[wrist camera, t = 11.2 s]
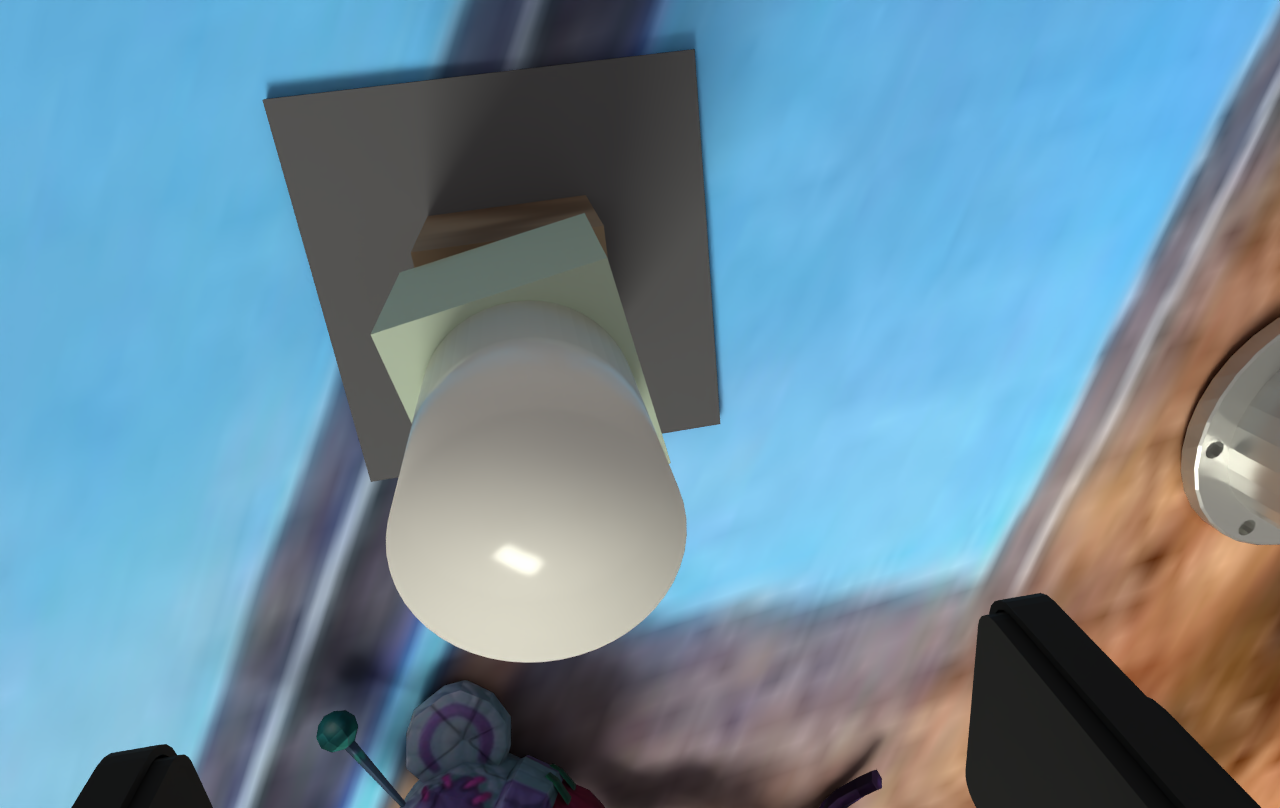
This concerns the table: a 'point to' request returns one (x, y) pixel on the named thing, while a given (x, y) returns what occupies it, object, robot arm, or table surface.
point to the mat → (500, 176)
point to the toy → (488, 759)
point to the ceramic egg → (533, 490)
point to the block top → (501, 298)
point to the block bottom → (495, 226)
